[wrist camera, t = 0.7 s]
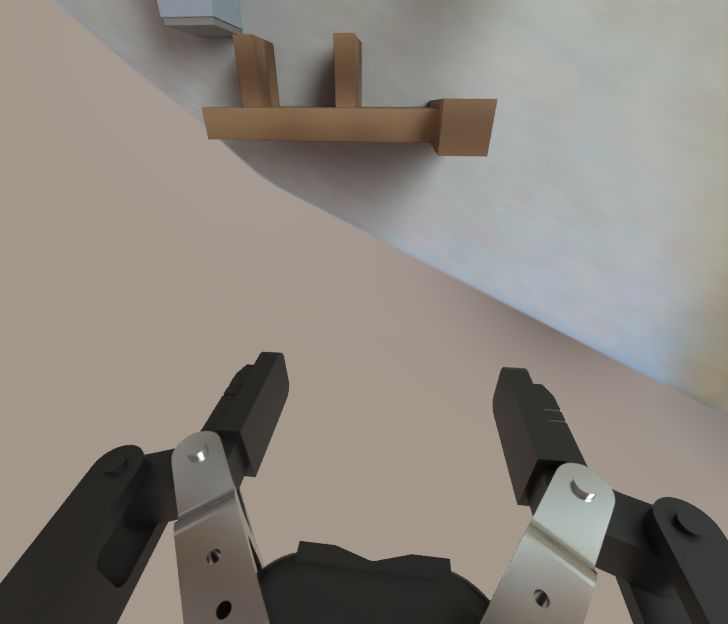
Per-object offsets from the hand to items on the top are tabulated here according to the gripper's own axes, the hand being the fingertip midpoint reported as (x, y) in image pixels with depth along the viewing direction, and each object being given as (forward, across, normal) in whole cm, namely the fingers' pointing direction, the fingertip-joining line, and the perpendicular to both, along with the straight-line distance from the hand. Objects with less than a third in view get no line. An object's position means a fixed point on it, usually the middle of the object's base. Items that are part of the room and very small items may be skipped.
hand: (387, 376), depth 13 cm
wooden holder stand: (+26, +5, -9) cm, 28 cm away
